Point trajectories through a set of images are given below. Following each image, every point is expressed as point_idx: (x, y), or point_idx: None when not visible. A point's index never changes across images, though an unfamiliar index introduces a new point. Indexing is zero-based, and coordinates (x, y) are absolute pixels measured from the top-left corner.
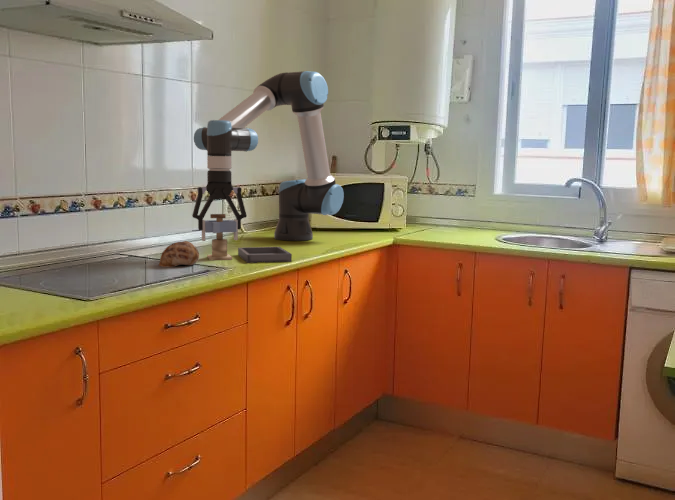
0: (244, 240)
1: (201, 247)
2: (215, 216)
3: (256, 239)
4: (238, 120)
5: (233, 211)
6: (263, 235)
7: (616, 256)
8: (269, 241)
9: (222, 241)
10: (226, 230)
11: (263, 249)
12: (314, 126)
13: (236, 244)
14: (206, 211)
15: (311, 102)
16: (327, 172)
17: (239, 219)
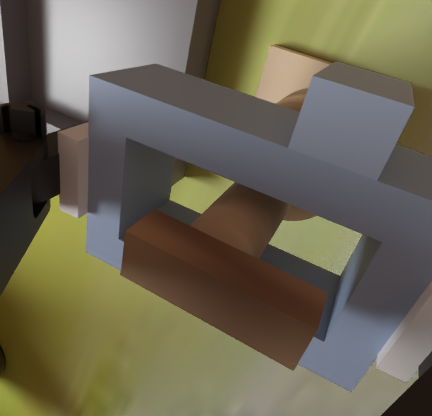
0: (74, 398)
1: (233, 408)
2: (263, 277)
3: (44, 387)
4: None
5: (7, 200)
6: (21, 411)
7: None
8: (21, 344)
9: (292, 108)
10: (234, 96)
11: (68, 127)
12: None
13: (110, 369)
14: (410, 399)
15: None
16: None
17: (37, 117)
